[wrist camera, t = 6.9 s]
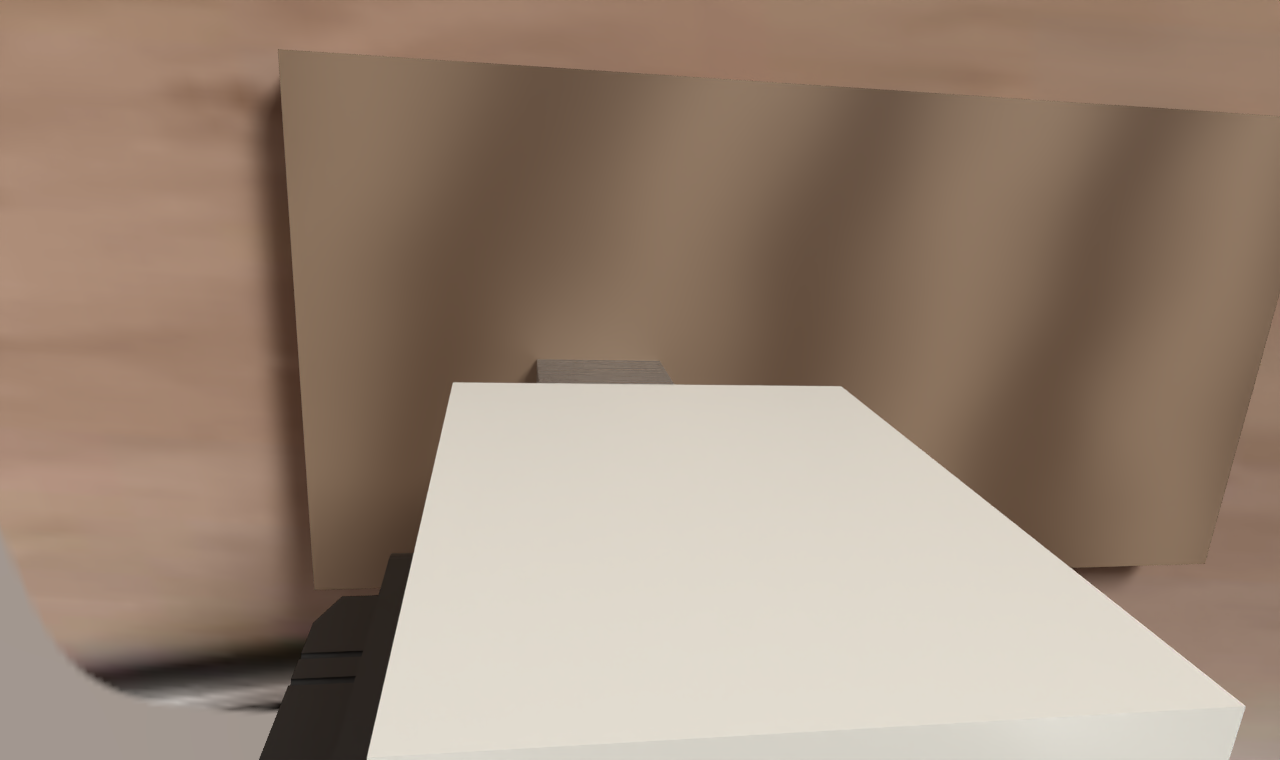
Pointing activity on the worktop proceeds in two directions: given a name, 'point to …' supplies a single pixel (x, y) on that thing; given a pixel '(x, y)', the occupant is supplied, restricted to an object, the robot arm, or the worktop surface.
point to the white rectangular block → (751, 597)
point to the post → (601, 372)
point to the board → (783, 277)
